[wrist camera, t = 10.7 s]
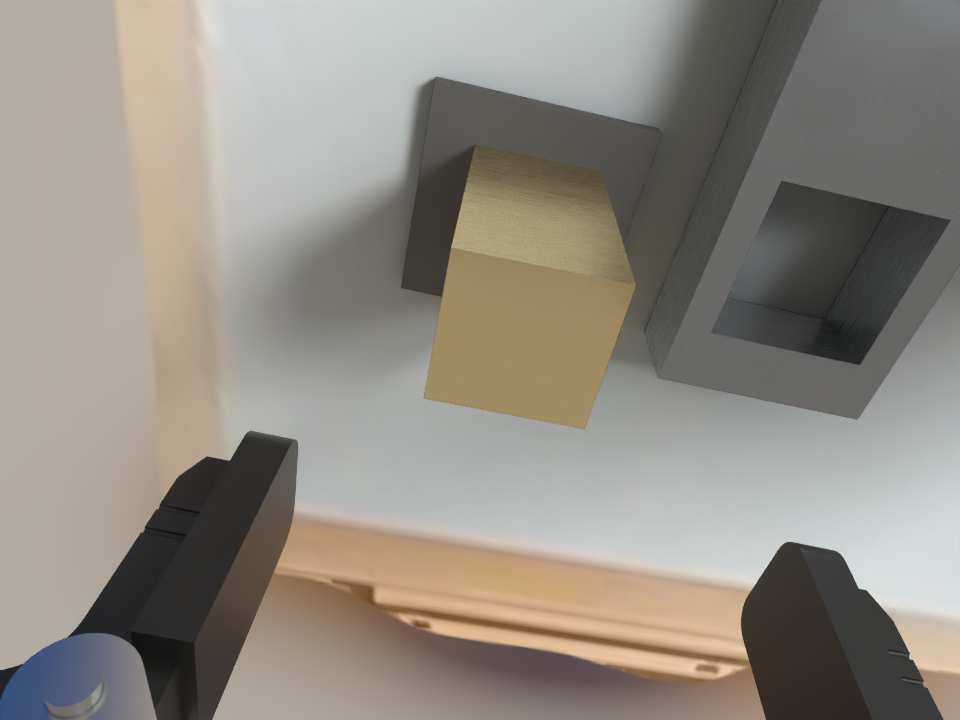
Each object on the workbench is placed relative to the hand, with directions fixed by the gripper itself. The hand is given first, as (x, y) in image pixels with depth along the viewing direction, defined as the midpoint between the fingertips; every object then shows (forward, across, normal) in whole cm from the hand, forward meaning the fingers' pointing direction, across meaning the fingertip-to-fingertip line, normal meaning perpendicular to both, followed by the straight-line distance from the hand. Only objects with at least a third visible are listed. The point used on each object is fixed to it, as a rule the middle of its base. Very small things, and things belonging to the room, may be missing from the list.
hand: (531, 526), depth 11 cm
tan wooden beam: (+13, 0, 0) cm, 13 cm away
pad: (+14, +1, 0) cm, 14 cm away
